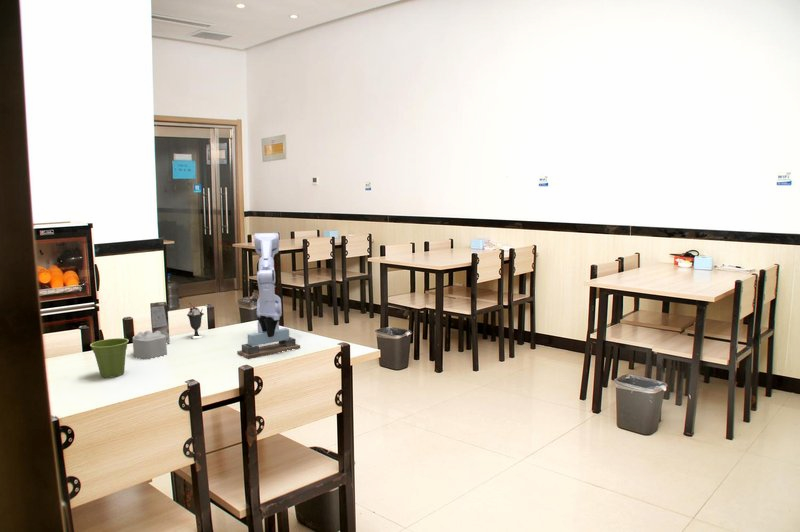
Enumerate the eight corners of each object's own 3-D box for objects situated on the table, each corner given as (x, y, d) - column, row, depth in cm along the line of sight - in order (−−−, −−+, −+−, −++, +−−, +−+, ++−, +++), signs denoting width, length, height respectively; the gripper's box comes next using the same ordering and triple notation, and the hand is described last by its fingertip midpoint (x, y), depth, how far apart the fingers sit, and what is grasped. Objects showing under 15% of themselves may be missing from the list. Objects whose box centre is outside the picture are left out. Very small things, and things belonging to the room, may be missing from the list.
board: (237, 354, 229) (236, 344, 229) (288, 344, 243) (288, 335, 243) (248, 359, 222) (247, 349, 222) (300, 348, 236) (300, 339, 236)
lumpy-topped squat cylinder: (144, 360, 222) (142, 337, 221) (127, 354, 231) (125, 332, 230) (170, 354, 230) (169, 332, 229) (153, 349, 239) (152, 327, 238)
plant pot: (120, 367, 214) (118, 336, 212) (137, 373, 206) (135, 341, 205) (86, 375, 204) (83, 343, 203) (102, 382, 197) (99, 348, 196)
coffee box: (170, 343, 246) (167, 305, 244) (153, 345, 244) (150, 306, 242) (168, 339, 254) (166, 301, 252) (152, 340, 252) (149, 302, 250)
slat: (247, 344, 228) (247, 334, 228) (285, 337, 238) (285, 328, 238) (251, 346, 226) (251, 335, 225) (289, 339, 236) (289, 329, 236)
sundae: (184, 338, 255) (182, 303, 253) (196, 335, 261) (194, 300, 259) (196, 340, 252) (194, 304, 250) (208, 336, 258) (206, 301, 256)
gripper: (248, 299, 233) (250, 334, 235) (266, 304, 222) (268, 340, 224) (265, 297, 238) (266, 331, 239) (283, 302, 227) (285, 337, 228)
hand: (268, 335), depth 232 cm, fingers closed on slat, 3 cm apart
